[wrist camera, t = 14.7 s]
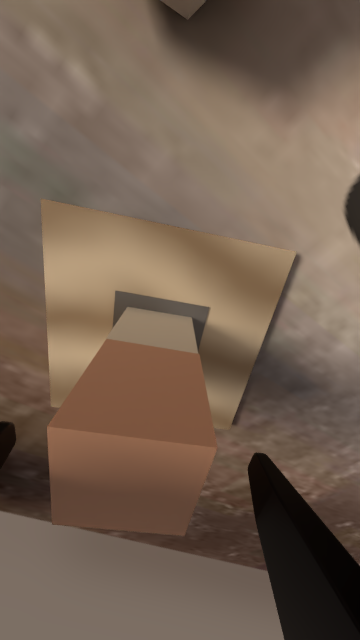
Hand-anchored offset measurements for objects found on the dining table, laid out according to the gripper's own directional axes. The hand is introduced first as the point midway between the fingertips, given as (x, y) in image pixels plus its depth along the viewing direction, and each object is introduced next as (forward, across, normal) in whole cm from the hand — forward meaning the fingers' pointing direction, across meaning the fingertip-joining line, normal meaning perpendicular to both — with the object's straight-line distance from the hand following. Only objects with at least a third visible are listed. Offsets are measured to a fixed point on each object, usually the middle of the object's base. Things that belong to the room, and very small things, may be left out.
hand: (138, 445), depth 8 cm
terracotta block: (+4, 0, 0) cm, 4 cm away
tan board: (+9, 0, 0) cm, 9 cm away
